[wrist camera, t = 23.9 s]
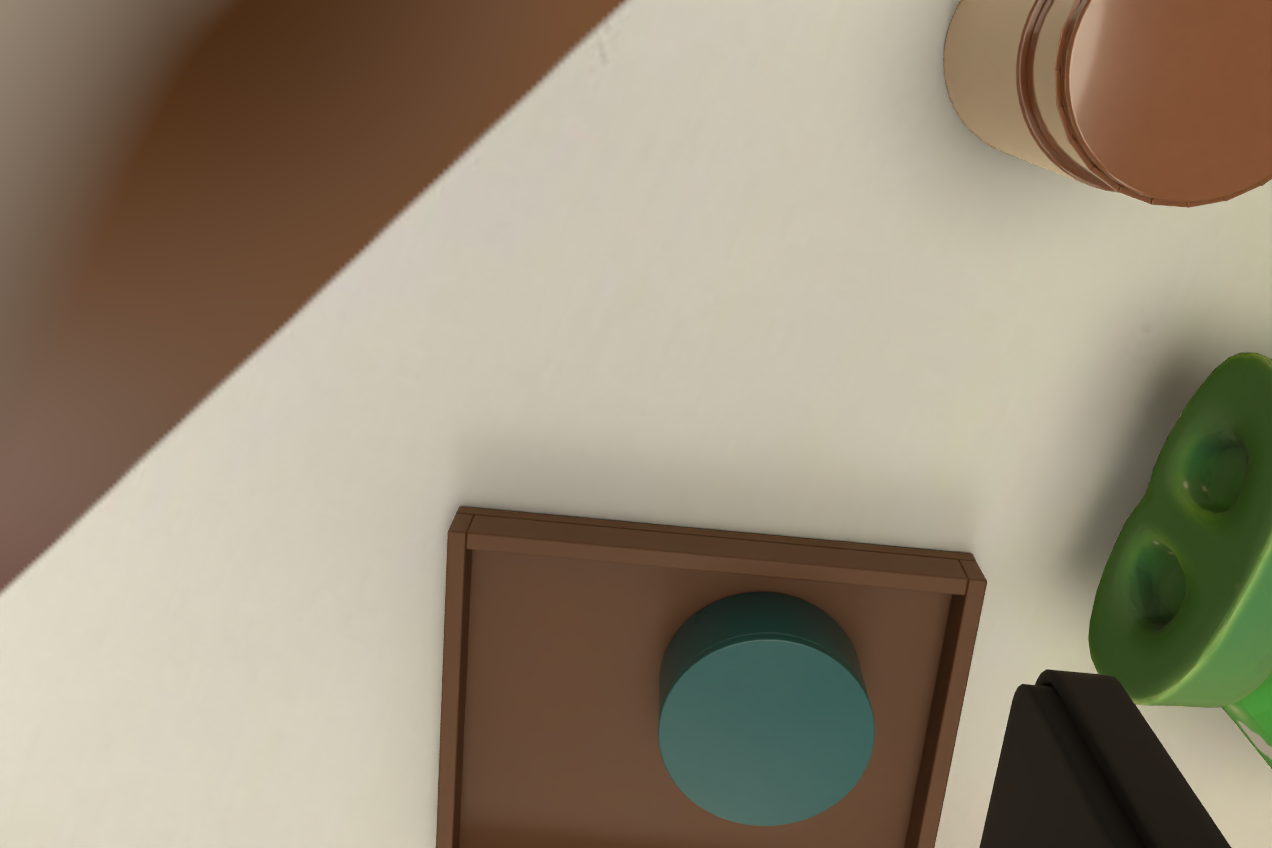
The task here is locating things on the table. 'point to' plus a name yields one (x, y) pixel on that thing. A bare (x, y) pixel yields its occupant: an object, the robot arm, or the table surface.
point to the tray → (630, 677)
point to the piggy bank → (1200, 562)
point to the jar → (1121, 91)
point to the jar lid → (763, 710)
